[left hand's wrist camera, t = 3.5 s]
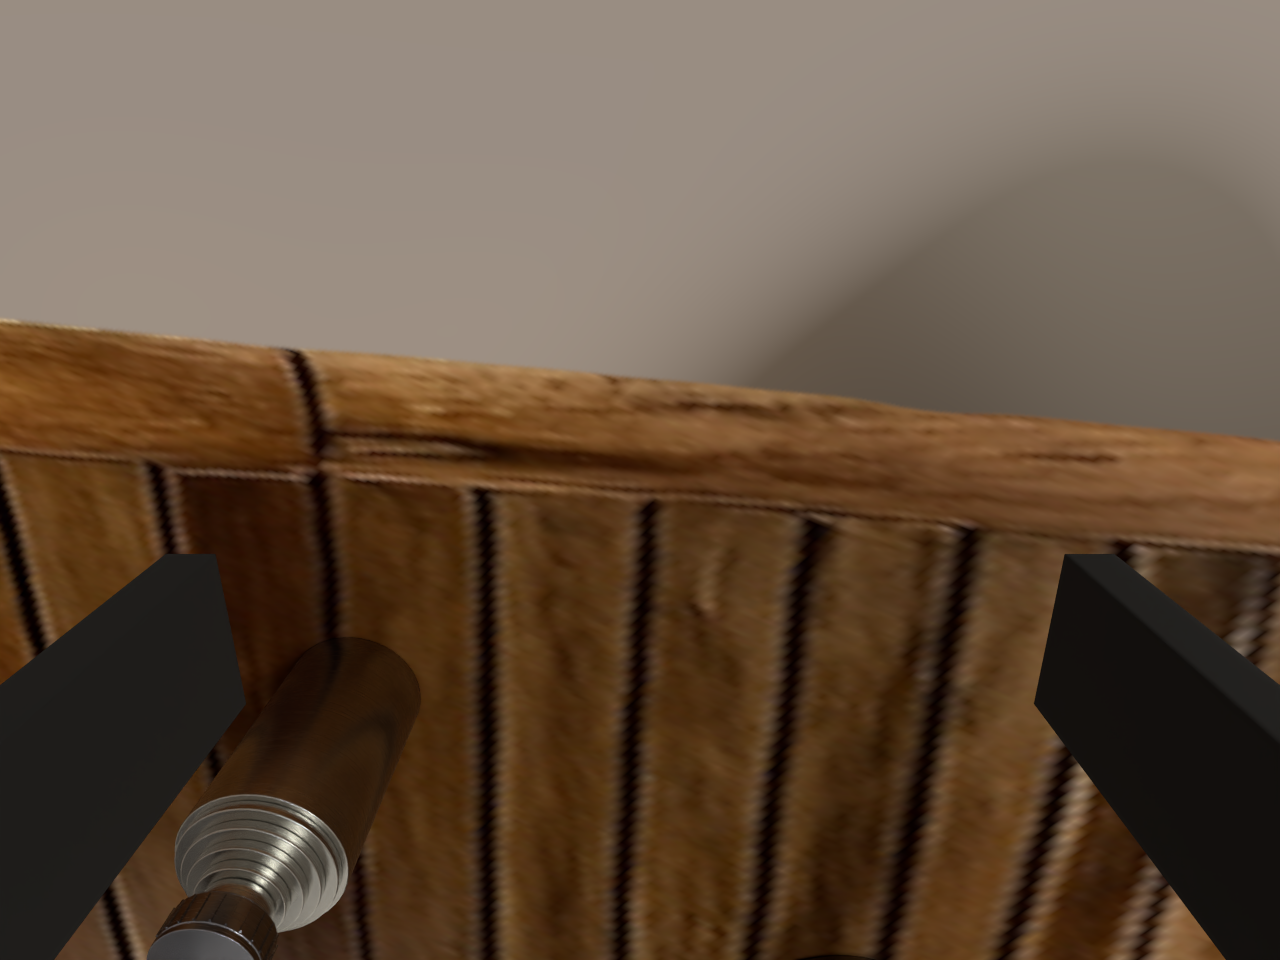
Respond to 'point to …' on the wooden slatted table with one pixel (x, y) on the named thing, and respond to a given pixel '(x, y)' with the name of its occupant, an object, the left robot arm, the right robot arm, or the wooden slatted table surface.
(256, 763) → the bottle
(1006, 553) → the wooden slatted table surface
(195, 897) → the cap
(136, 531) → the wooden slatted table surface
